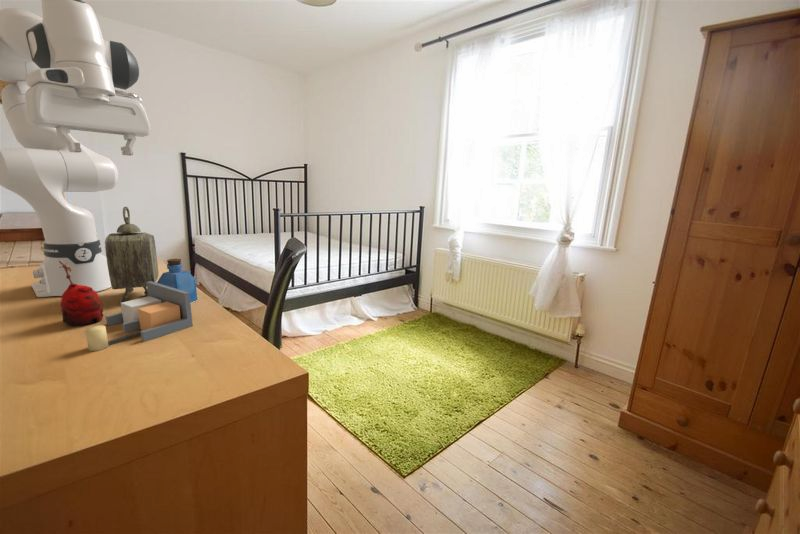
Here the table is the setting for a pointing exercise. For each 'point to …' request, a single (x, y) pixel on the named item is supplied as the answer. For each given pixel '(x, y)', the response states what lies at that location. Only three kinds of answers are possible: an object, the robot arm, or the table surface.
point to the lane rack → (164, 295)
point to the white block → (136, 307)
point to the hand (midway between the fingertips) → (103, 153)
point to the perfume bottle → (179, 278)
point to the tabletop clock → (131, 257)
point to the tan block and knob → (147, 319)
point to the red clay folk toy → (80, 303)
